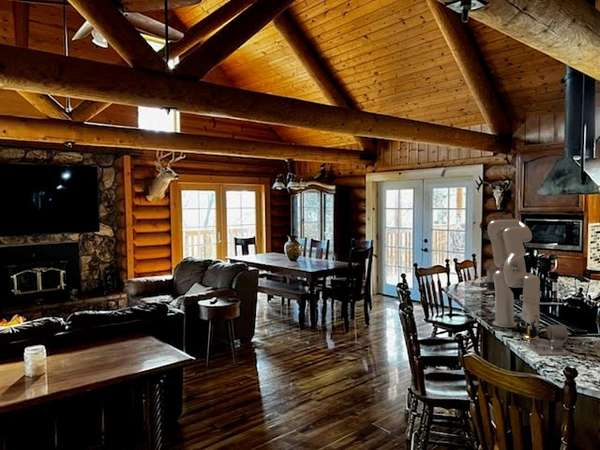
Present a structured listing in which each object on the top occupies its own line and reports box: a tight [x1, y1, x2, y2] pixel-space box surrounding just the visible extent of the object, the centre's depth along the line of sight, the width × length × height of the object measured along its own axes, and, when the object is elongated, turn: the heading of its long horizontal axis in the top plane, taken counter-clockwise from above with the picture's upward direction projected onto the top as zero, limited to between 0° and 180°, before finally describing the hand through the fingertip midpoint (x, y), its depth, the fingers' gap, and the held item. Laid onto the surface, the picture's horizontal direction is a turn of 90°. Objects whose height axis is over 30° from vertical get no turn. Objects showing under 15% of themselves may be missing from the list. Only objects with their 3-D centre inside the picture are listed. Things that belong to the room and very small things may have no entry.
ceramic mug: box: [545, 324, 569, 344], centre depth 224 cm, size 11×8×8 cm
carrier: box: [520, 338, 570, 356], centre depth 212 cm, size 17×14×5 cm
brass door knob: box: [522, 326, 540, 341], centre depth 226 cm, size 7×7×7 cm
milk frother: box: [479, 269, 498, 291], centre depth 360 cm, size 14×16×15 cm
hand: (531, 335), depth 226 cm, fingers closed on brass door knob, 3 cm apart
